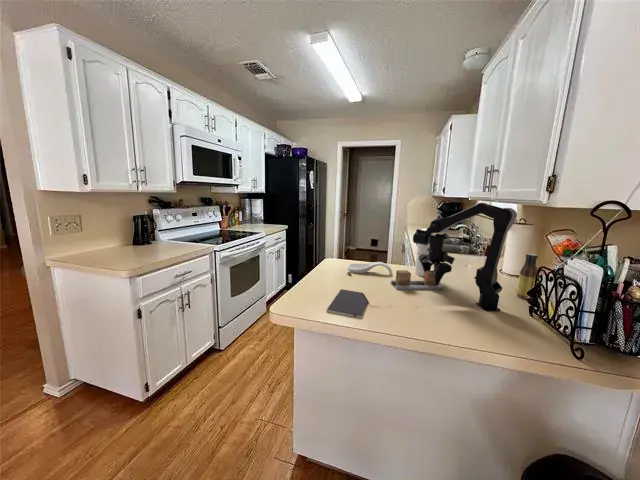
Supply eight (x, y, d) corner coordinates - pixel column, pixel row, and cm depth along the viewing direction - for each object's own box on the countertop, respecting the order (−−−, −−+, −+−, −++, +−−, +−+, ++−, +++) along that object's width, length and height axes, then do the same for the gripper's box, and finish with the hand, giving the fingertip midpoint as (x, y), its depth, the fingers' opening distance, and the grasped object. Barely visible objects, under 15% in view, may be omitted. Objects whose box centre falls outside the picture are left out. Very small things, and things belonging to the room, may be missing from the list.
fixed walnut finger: (409, 287, 124) (411, 272, 123) (397, 287, 123) (399, 272, 122) (406, 284, 127) (408, 270, 126) (395, 284, 127) (396, 270, 125)
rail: (444, 293, 123) (445, 287, 122) (397, 293, 120) (397, 287, 120) (433, 285, 132) (434, 279, 132) (389, 285, 130) (389, 279, 130)
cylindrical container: (414, 277, 143) (419, 230, 138) (413, 273, 149) (419, 228, 145) (429, 279, 141) (435, 231, 136) (427, 275, 148) (433, 229, 143)
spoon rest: (345, 275, 142) (345, 261, 141) (348, 269, 154) (349, 256, 152) (392, 281, 137) (393, 267, 136) (392, 274, 148) (393, 261, 147)
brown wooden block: (438, 287, 125) (440, 273, 124) (426, 287, 125) (428, 272, 123) (434, 285, 129) (436, 270, 127) (422, 285, 128) (424, 270, 127)
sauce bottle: (527, 295, 125) (536, 252, 121) (536, 301, 119) (546, 256, 115) (512, 294, 126) (520, 251, 122) (520, 299, 120) (529, 255, 116)
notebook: (340, 292, 120) (326, 313, 100) (340, 289, 120) (326, 309, 100) (370, 297, 116) (361, 319, 97) (370, 293, 116) (361, 315, 96)
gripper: (466, 252, 115) (460, 288, 118) (442, 243, 133) (438, 274, 136) (440, 252, 114) (435, 288, 117) (420, 242, 132) (416, 274, 135)
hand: (431, 280), depth 126 cm, fingers open, 9 cm apart
